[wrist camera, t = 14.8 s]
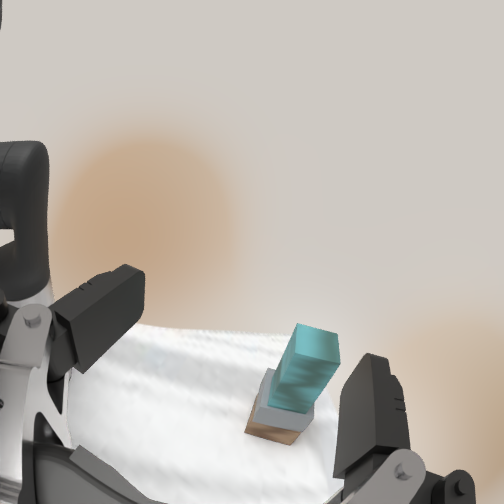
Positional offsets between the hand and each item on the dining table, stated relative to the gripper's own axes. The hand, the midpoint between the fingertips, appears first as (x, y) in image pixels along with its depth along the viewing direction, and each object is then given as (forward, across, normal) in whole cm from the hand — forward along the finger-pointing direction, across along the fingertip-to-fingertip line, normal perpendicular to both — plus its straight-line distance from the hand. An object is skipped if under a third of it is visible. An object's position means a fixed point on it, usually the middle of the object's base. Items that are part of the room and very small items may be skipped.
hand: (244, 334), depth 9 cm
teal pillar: (+17, -6, +22) cm, 28 cm away
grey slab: (+18, -6, +26) cm, 32 cm away
